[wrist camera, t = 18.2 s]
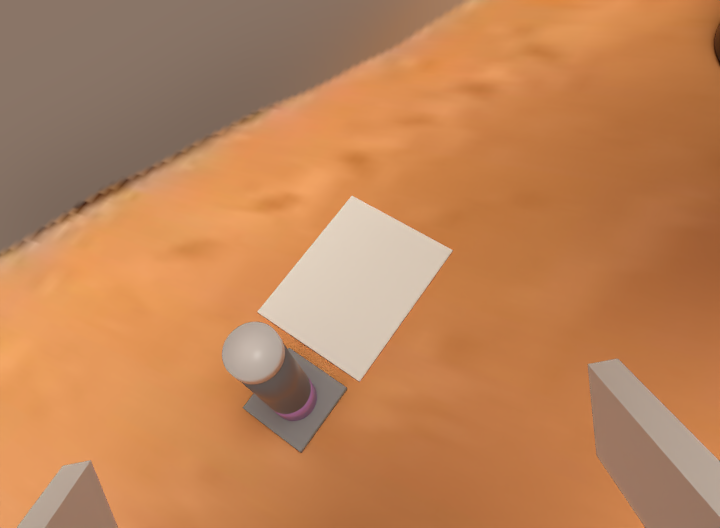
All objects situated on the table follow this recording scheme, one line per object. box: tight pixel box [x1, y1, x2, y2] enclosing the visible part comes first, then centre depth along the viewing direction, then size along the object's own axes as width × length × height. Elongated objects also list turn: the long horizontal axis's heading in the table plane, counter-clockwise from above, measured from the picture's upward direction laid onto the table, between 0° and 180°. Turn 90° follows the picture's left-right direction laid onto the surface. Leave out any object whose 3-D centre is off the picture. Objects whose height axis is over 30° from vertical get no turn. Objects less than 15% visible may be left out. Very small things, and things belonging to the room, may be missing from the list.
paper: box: [258, 196, 453, 382], centre depth 50 cm, size 14×11×1 cm
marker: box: [222, 322, 317, 421], centre depth 41 cm, size 4×4×12 cm
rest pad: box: [243, 348, 347, 453], centre depth 46 cm, size 6×6×1 cm
